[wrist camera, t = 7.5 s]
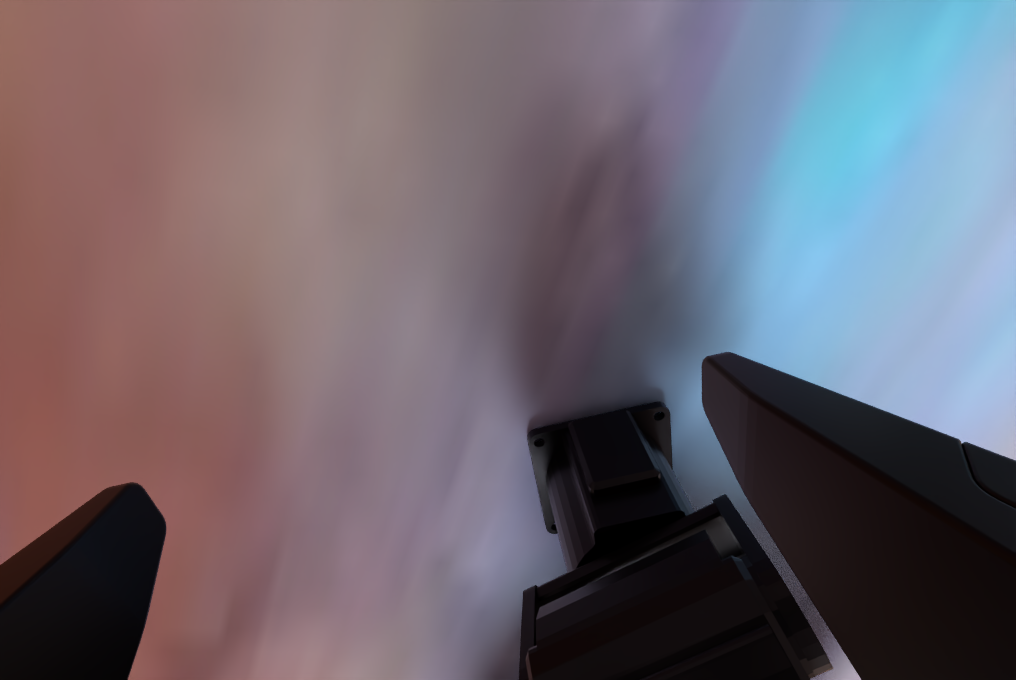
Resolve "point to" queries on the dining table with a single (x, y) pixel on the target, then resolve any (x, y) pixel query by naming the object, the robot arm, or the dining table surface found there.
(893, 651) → the robot arm
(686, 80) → the dining table surface
